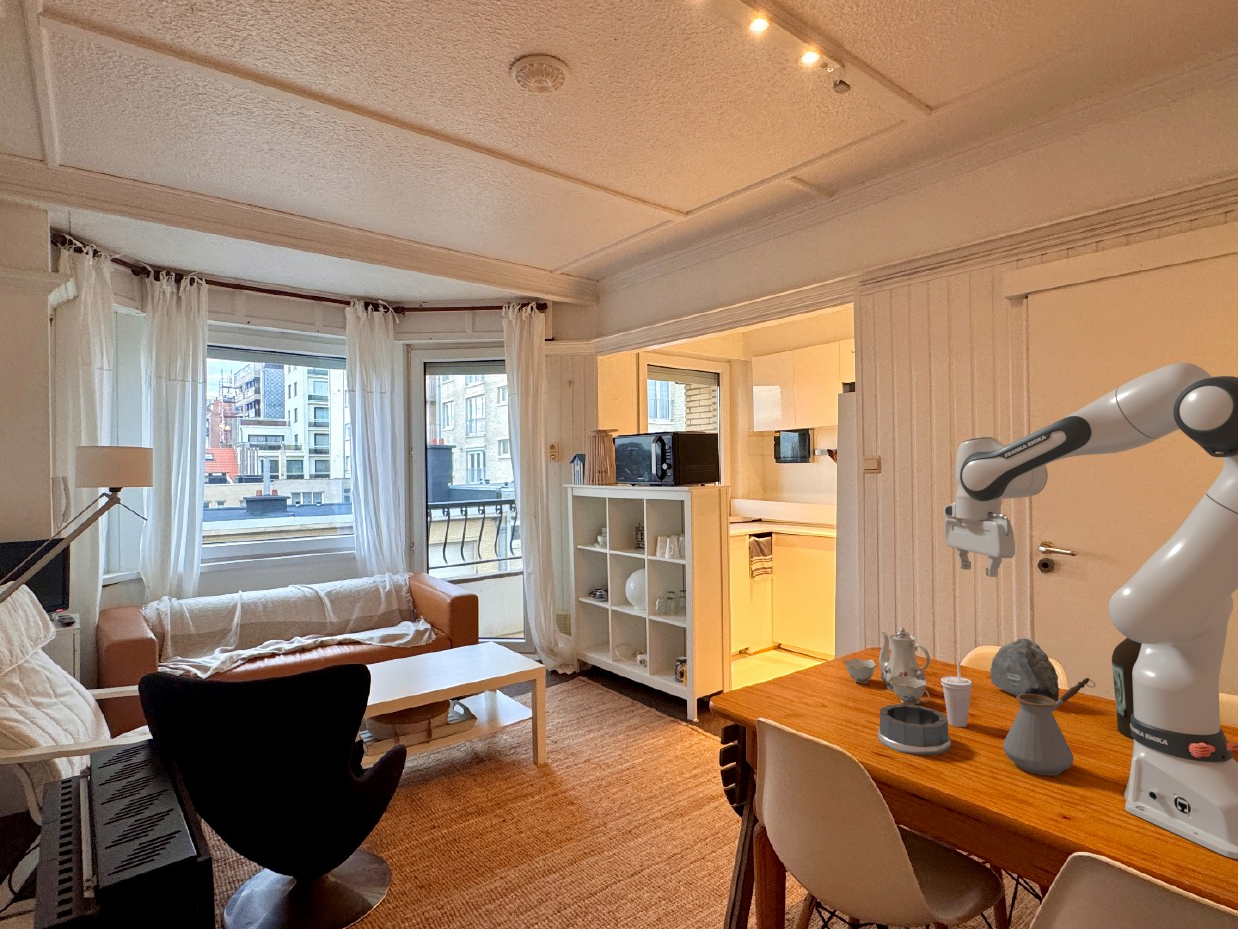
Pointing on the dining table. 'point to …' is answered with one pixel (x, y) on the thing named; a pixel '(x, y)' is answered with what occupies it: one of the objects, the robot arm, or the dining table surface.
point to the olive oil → (1124, 682)
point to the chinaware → (895, 667)
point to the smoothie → (957, 698)
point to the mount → (914, 730)
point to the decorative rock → (1024, 670)
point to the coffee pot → (1039, 735)
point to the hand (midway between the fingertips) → (978, 572)
